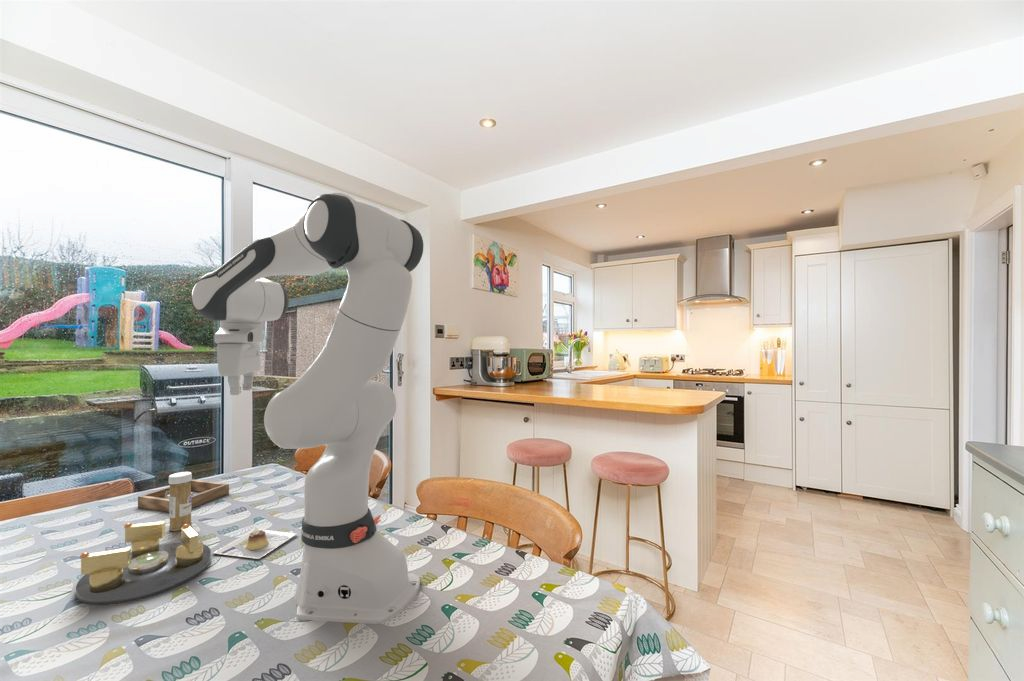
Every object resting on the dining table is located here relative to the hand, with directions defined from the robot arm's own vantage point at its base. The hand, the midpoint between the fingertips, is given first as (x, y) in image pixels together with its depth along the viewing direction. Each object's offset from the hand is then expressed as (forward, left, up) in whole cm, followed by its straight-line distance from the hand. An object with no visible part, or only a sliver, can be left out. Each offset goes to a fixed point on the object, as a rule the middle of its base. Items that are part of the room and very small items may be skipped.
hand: (241, 392), depth 102 cm
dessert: (-9, +4, -35) cm, 36 cm away
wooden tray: (+34, -12, -34) cm, 50 cm away
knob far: (+7, +16, -32) cm, 37 cm away
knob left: (+1, +27, -32) cm, 42 cm away
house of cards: (+38, -11, -35) cm, 53 cm away
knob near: (-5, +16, -32) cm, 36 cm away
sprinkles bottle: (+17, +2, -34) cm, 38 cm away
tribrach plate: (+1, +20, -34) cm, 40 cm away
